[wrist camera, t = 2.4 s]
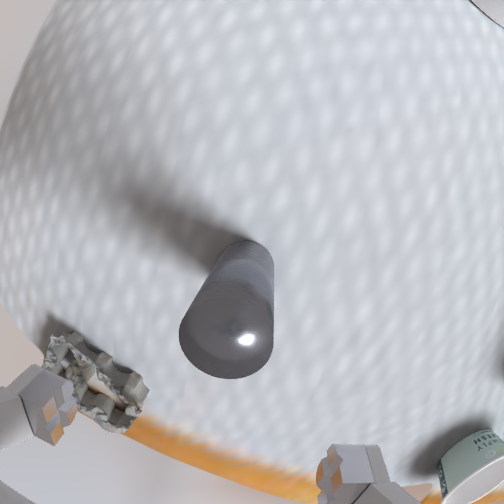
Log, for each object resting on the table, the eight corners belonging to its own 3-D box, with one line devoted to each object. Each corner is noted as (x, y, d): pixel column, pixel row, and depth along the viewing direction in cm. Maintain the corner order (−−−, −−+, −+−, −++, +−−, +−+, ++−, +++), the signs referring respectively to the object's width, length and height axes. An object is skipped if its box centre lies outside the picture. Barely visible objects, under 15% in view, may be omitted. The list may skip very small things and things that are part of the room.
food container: (512, 410, 25) (534, 439, 19) (483, 463, 28) (497, 491, 22) (442, 437, 26) (461, 475, 20) (418, 486, 29) (428, 519, 23)
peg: (223, 235, 22) (184, 288, 12) (279, 247, 22) (283, 310, 12) (214, 287, 23) (175, 367, 13) (267, 299, 23) (262, 386, 13)
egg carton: (159, 383, 26) (145, 412, 22) (131, 419, 28) (118, 445, 24) (68, 316, 25) (43, 337, 21) (52, 362, 27) (32, 382, 23)
